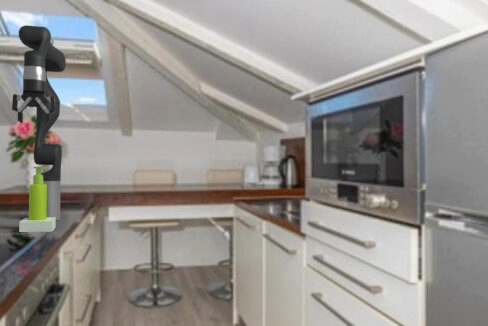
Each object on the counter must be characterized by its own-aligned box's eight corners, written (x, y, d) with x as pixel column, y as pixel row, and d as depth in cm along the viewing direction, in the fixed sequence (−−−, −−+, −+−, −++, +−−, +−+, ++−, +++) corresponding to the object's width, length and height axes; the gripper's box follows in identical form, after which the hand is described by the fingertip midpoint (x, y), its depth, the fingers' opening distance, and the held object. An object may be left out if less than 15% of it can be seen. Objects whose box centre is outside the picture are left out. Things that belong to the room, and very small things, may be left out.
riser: (24, 228, 157) (25, 217, 157) (55, 227, 160) (55, 217, 160) (19, 232, 147) (19, 221, 147) (51, 231, 151) (52, 220, 151)
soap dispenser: (44, 220, 151) (44, 166, 151) (25, 220, 151) (26, 166, 151) (51, 218, 157) (52, 166, 157) (34, 217, 157) (35, 166, 157)
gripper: (56, 83, 158) (56, 125, 158) (15, 80, 153) (14, 123, 153) (54, 79, 150) (53, 123, 151) (10, 76, 146) (10, 121, 146)
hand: (33, 123), depth 152 cm, fingers open, 8 cm apart
